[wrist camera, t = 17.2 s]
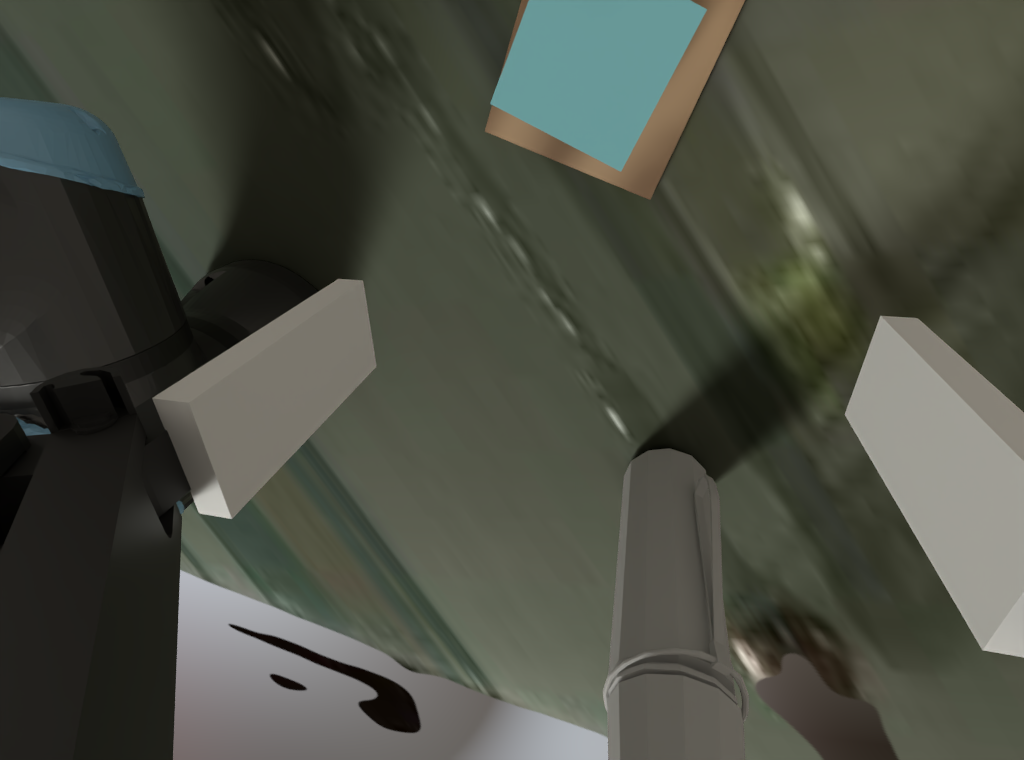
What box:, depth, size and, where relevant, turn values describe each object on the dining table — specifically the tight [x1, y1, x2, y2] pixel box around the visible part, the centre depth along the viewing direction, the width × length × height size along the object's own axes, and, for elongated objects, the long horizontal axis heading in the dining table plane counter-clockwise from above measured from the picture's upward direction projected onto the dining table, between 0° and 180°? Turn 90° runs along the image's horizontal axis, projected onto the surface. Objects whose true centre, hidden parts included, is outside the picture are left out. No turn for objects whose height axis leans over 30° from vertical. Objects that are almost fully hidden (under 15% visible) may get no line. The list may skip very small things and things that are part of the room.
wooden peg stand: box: [485, 0, 745, 200], centre depth 29 cm, size 12×12×10 cm
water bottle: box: [603, 448, 749, 760], centre depth 36 cm, size 9×8×25 cm
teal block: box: [490, 0, 707, 172], centre depth 26 cm, size 7×7×6 cm
